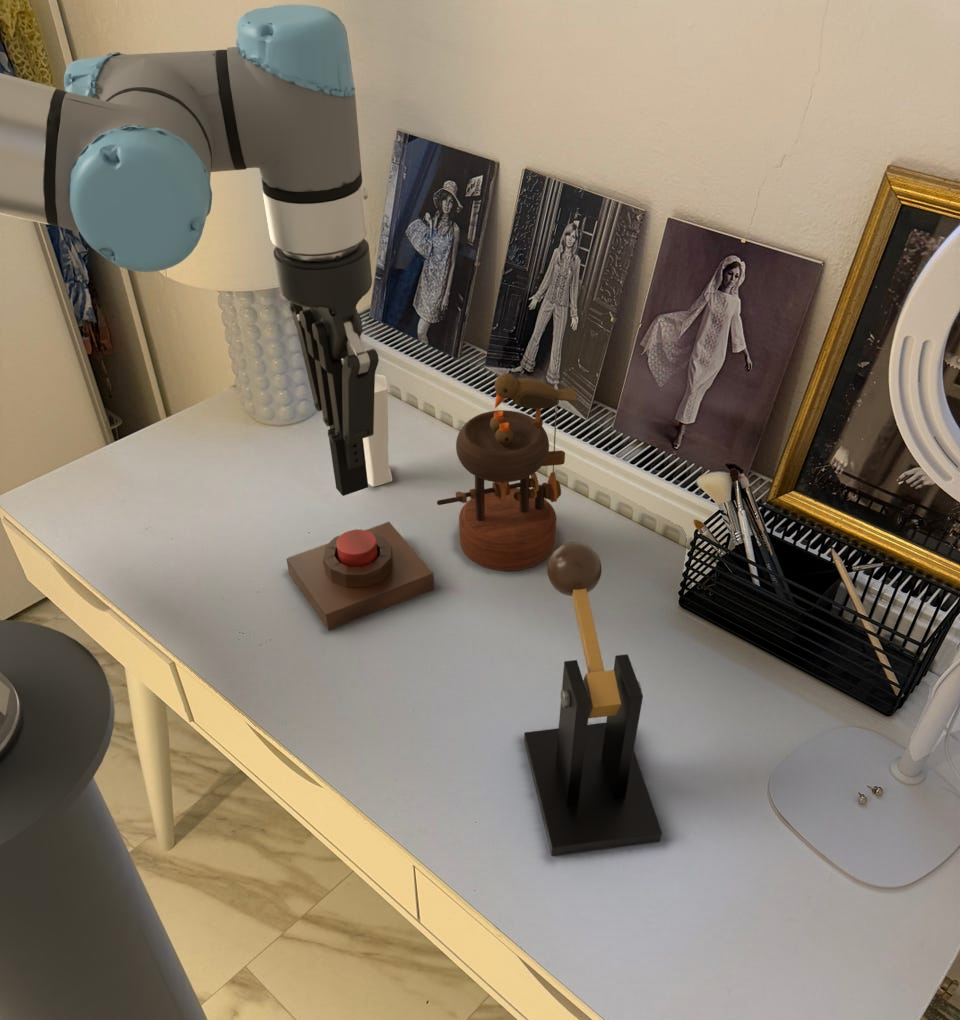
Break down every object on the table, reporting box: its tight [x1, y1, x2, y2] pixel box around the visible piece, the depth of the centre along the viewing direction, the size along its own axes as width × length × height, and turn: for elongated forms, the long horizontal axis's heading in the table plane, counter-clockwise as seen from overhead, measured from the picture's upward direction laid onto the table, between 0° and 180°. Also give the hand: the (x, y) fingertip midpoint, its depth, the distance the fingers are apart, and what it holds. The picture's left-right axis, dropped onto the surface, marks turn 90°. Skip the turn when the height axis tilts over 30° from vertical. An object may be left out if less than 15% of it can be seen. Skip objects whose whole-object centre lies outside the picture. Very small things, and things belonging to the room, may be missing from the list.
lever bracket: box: [523, 654, 663, 857], centre depth 77 cm, size 12×9×14 cm
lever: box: [546, 541, 621, 719], centre depth 76 cm, size 15×4×4 cm, turn 9°
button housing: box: [285, 521, 435, 631], centre depth 99 cm, size 12×10×4 cm
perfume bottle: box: [363, 373, 393, 487], centre depth 109 cm, size 5×4×15 cm
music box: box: [436, 372, 579, 572], centre depth 98 cm, size 15×11×20 cm
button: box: [336, 529, 377, 567], centre depth 98 cm, size 4×4×2 cm
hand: (352, 487), depth 92 cm, fingers closed
